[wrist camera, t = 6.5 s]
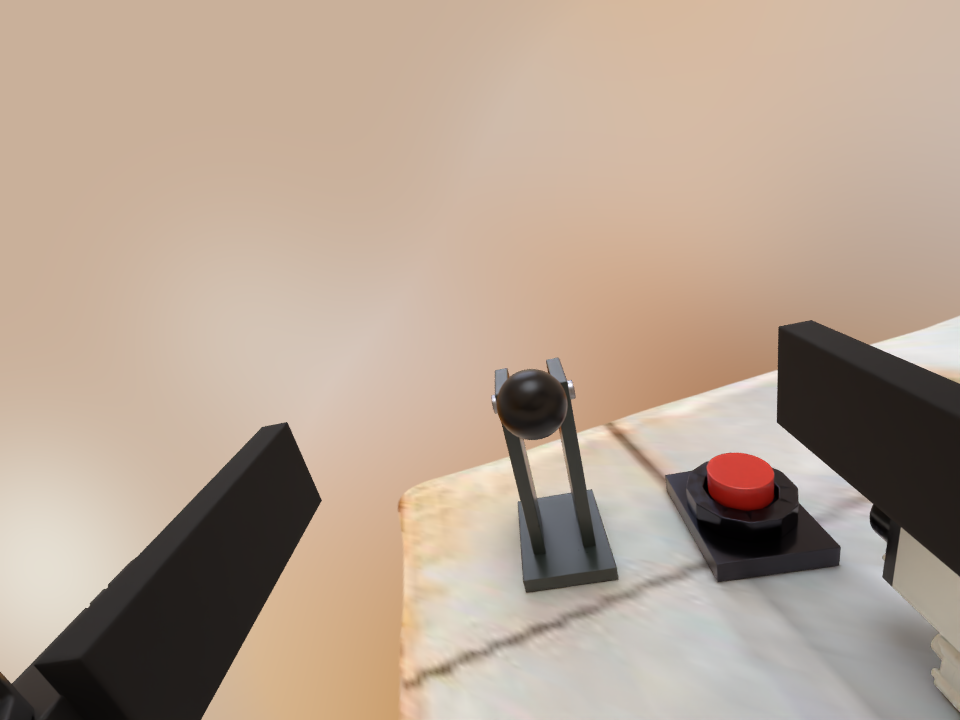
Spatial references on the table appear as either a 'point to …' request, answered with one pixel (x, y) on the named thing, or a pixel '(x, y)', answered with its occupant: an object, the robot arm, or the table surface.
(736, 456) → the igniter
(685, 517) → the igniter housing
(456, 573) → the table surface
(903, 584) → the pneumatic valve
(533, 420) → the lever
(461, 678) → the table surface
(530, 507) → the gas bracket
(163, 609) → the robot arm
